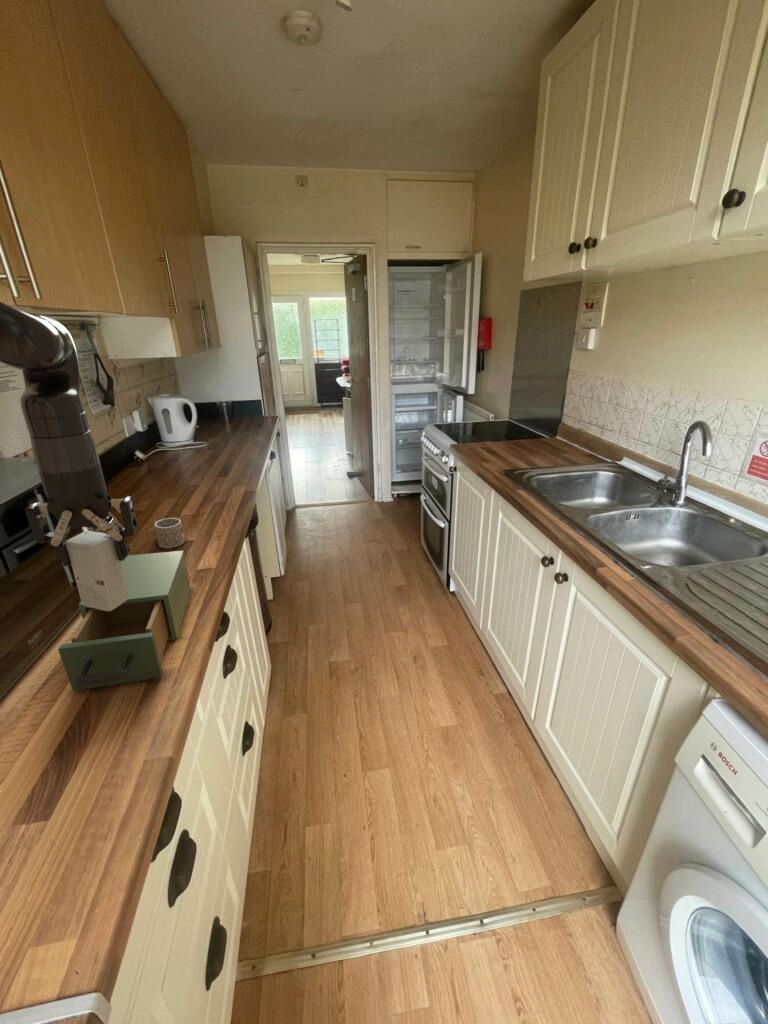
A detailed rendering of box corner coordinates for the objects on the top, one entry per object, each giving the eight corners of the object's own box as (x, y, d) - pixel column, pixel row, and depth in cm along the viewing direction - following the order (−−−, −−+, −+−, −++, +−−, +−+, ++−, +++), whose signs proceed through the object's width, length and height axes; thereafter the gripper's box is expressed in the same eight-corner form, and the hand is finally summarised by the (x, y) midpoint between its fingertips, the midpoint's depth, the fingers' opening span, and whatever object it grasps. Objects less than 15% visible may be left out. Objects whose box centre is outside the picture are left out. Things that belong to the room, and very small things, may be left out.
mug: (189, 542, 122) (185, 521, 119) (167, 551, 117) (163, 530, 114) (169, 533, 127) (165, 513, 124) (147, 541, 122) (142, 520, 119)
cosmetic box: (81, 606, 71) (60, 541, 66) (103, 591, 75) (85, 529, 70) (111, 612, 69) (93, 547, 65) (133, 597, 73) (116, 534, 69)
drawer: (155, 699, 70) (144, 656, 67) (60, 714, 67) (43, 671, 63) (178, 619, 89) (171, 582, 86) (105, 628, 86) (94, 591, 82)
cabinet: (177, 640, 85) (167, 594, 80) (93, 652, 81) (78, 605, 77) (191, 590, 100) (183, 550, 96) (121, 598, 97) (110, 557, 93)
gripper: (130, 453, 67) (150, 546, 74) (24, 458, 64) (55, 554, 71) (115, 468, 61) (139, 568, 67) (-4, 473, 57) (34, 578, 64)
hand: (96, 560), depth 69 cm, fingers closed on cosmetic box, 7 cm apart
